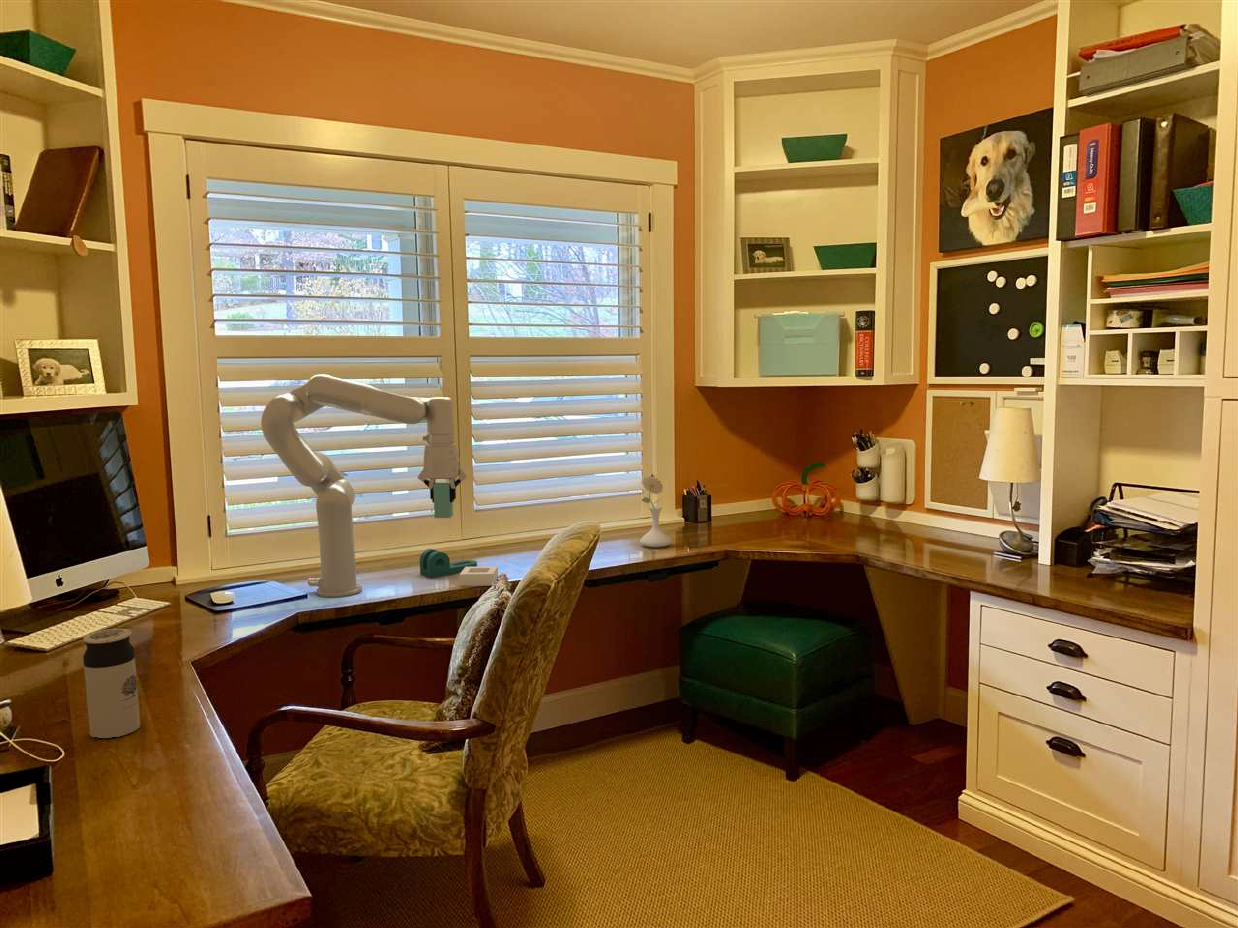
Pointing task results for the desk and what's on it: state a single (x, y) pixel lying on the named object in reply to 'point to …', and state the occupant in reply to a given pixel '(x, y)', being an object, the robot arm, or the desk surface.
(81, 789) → the desk surface
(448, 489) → the teal peg
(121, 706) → the travel mug
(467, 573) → the pocket block
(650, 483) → the flower in vase
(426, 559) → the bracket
